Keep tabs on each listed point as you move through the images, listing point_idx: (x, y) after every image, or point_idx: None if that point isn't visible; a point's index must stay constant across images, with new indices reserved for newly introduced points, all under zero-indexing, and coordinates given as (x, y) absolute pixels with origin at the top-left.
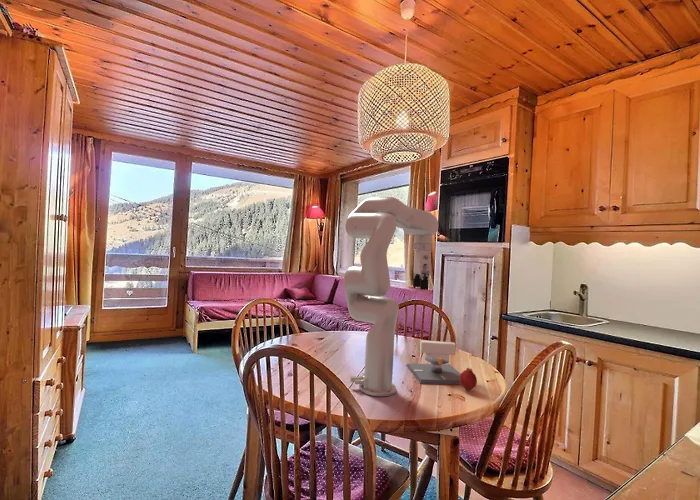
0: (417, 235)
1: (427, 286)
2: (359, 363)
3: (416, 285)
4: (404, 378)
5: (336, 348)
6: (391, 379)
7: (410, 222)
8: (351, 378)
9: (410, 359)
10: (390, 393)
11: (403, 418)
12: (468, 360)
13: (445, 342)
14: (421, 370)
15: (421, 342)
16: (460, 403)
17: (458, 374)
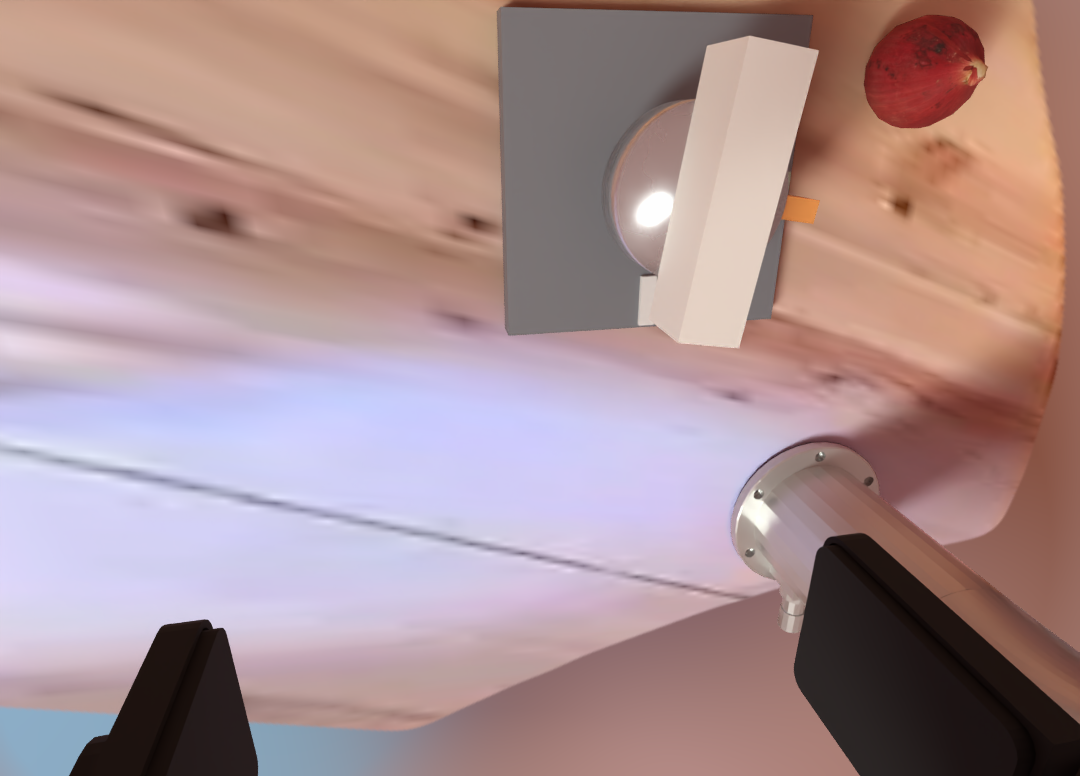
0: None
1: (911, 590)
2: (462, 576)
3: (236, 750)
4: (686, 379)
5: None
6: (871, 491)
7: None
8: (801, 625)
9: (324, 268)
10: (873, 473)
11: (1026, 446)
12: None
13: (750, 130)
14: (651, 282)
15: (730, 346)
16: (990, 190)
17: (716, 40)
